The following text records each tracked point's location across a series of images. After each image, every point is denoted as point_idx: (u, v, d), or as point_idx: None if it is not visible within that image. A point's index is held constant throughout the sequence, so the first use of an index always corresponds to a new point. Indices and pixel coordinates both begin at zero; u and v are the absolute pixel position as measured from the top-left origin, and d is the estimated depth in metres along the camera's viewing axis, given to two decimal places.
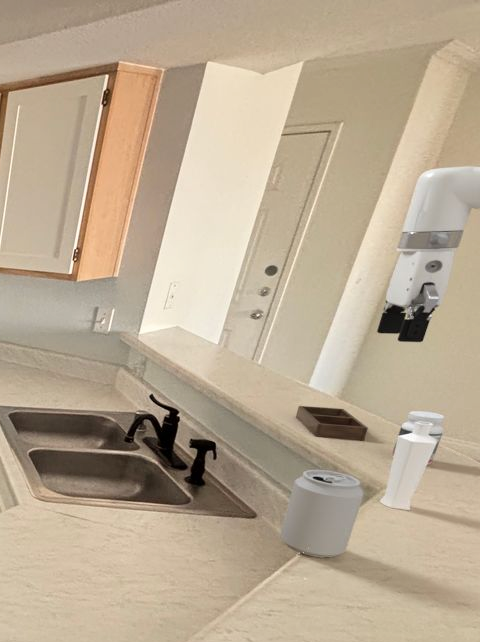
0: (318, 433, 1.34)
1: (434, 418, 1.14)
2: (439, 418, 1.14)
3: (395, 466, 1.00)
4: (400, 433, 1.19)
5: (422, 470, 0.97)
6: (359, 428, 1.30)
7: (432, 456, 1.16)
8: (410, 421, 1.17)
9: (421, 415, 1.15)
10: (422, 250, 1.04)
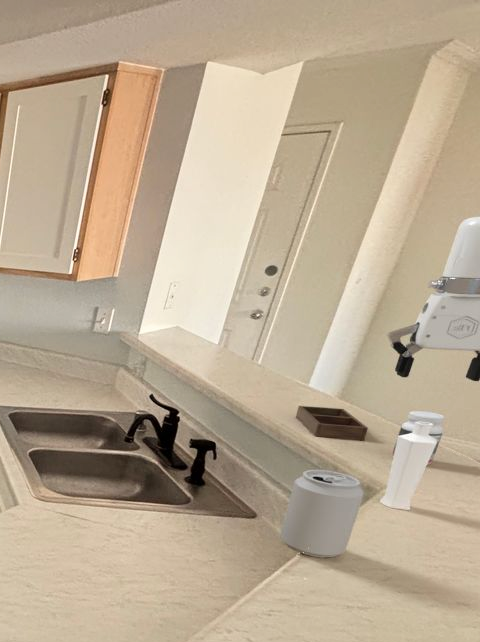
0: (318, 433, 1.34)
1: (434, 418, 1.14)
2: (439, 418, 1.14)
3: (395, 466, 1.00)
4: (400, 433, 1.19)
5: (422, 470, 0.97)
6: (359, 428, 1.30)
7: (432, 456, 1.16)
8: (410, 421, 1.17)
9: (421, 415, 1.15)
10: (436, 293, 1.11)
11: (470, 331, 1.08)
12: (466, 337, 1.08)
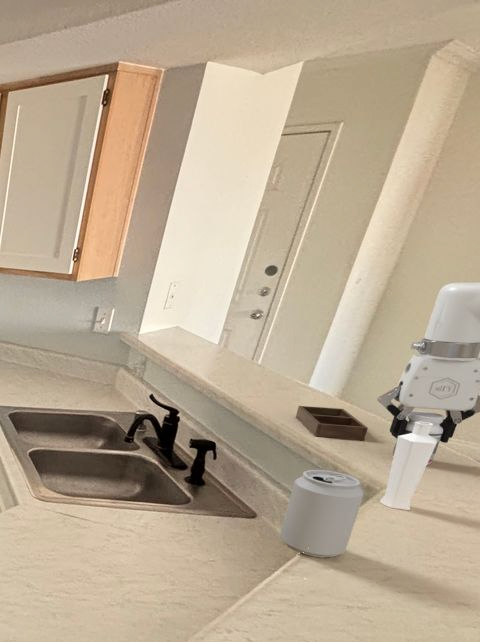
0: (318, 433, 1.34)
1: (434, 418, 1.14)
2: (439, 418, 1.14)
3: (395, 466, 1.00)
4: None
5: (422, 470, 0.97)
6: (359, 428, 1.30)
7: (432, 456, 1.16)
8: (410, 421, 1.17)
9: (421, 415, 1.15)
10: None
11: (451, 392, 1.11)
12: (447, 398, 1.12)
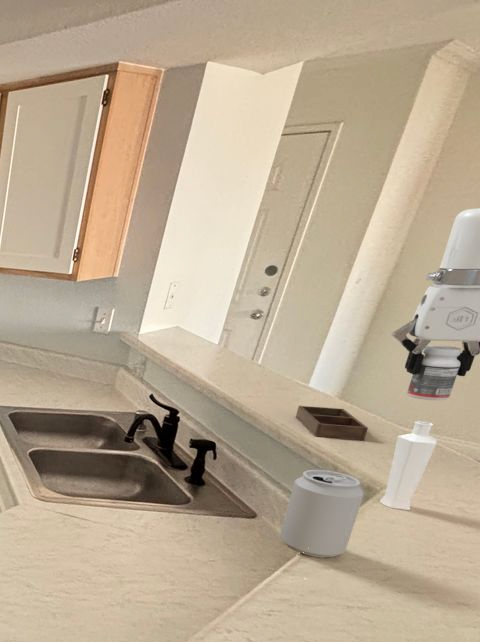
0: (318, 433, 1.34)
1: (451, 350, 1.11)
2: (456, 350, 1.11)
3: (395, 466, 1.00)
4: None
5: (422, 470, 0.97)
6: (359, 428, 1.30)
7: (449, 391, 1.13)
8: (426, 356, 1.14)
9: (438, 348, 1.12)
10: (434, 284, 1.12)
11: (469, 322, 1.08)
12: (465, 328, 1.09)
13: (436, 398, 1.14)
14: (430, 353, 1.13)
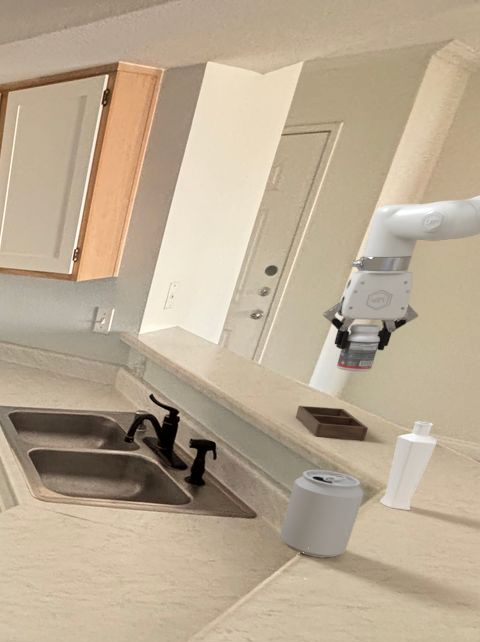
0: (318, 433, 1.34)
1: (371, 328, 1.28)
2: (376, 327, 1.28)
3: (395, 466, 1.00)
4: None
5: (422, 470, 0.97)
6: (359, 428, 1.30)
7: (371, 363, 1.31)
8: (351, 332, 1.32)
9: (360, 326, 1.30)
10: (358, 271, 1.29)
11: (385, 303, 1.26)
12: (382, 308, 1.26)
13: (359, 369, 1.31)
14: (354, 330, 1.31)
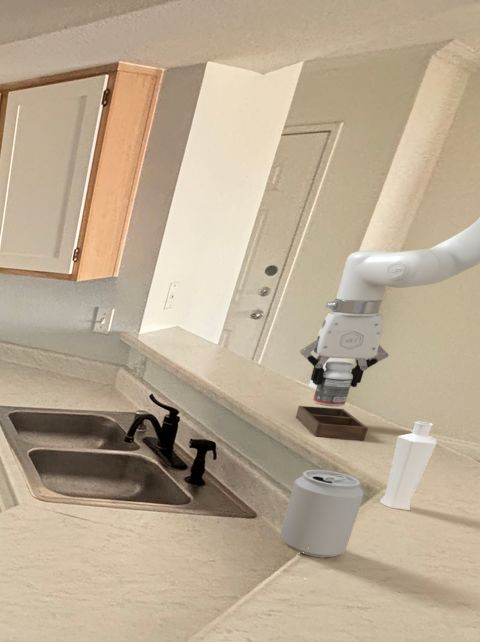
0: (318, 433, 1.34)
1: (345, 366, 1.35)
2: (349, 366, 1.35)
3: (395, 466, 1.00)
4: None
5: (422, 470, 0.97)
6: (359, 428, 1.30)
7: (344, 398, 1.38)
8: (326, 369, 1.39)
9: (335, 364, 1.37)
10: None
11: (357, 343, 1.33)
12: (354, 348, 1.33)
13: (334, 404, 1.38)
14: (329, 367, 1.38)
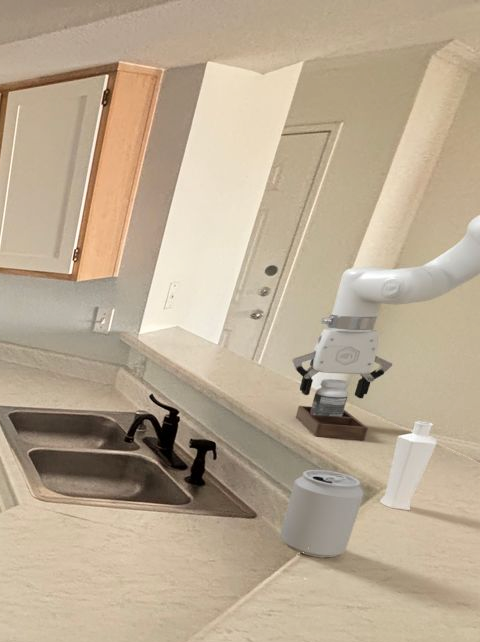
0: (318, 433, 1.34)
1: (340, 384, 1.37)
2: (344, 384, 1.37)
3: (395, 466, 1.00)
4: (314, 397, 1.42)
5: (422, 470, 0.97)
6: (359, 428, 1.30)
7: None
8: (322, 387, 1.40)
9: (330, 382, 1.38)
10: None
11: (353, 358, 1.34)
12: (350, 363, 1.34)
13: None
14: (324, 385, 1.39)
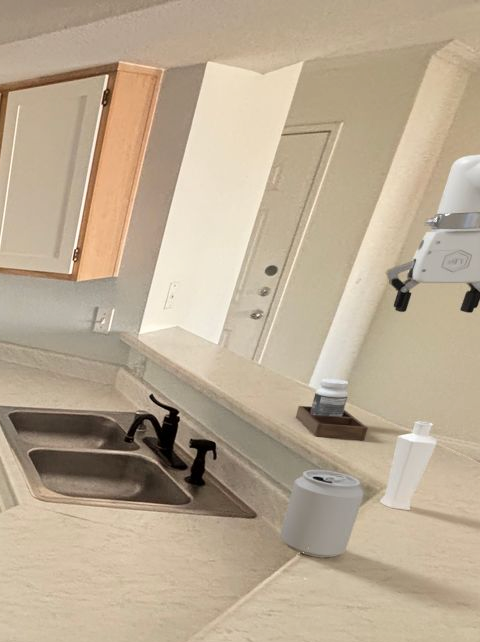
0: (318, 433, 1.34)
1: (340, 384, 1.37)
2: (344, 384, 1.37)
3: (395, 466, 1.00)
4: (314, 397, 1.42)
5: (422, 470, 0.97)
6: (359, 428, 1.30)
7: None
8: (322, 387, 1.40)
9: (330, 382, 1.38)
10: (431, 230, 1.18)
11: (463, 264, 1.15)
12: (460, 270, 1.15)
13: None
14: (324, 385, 1.39)
